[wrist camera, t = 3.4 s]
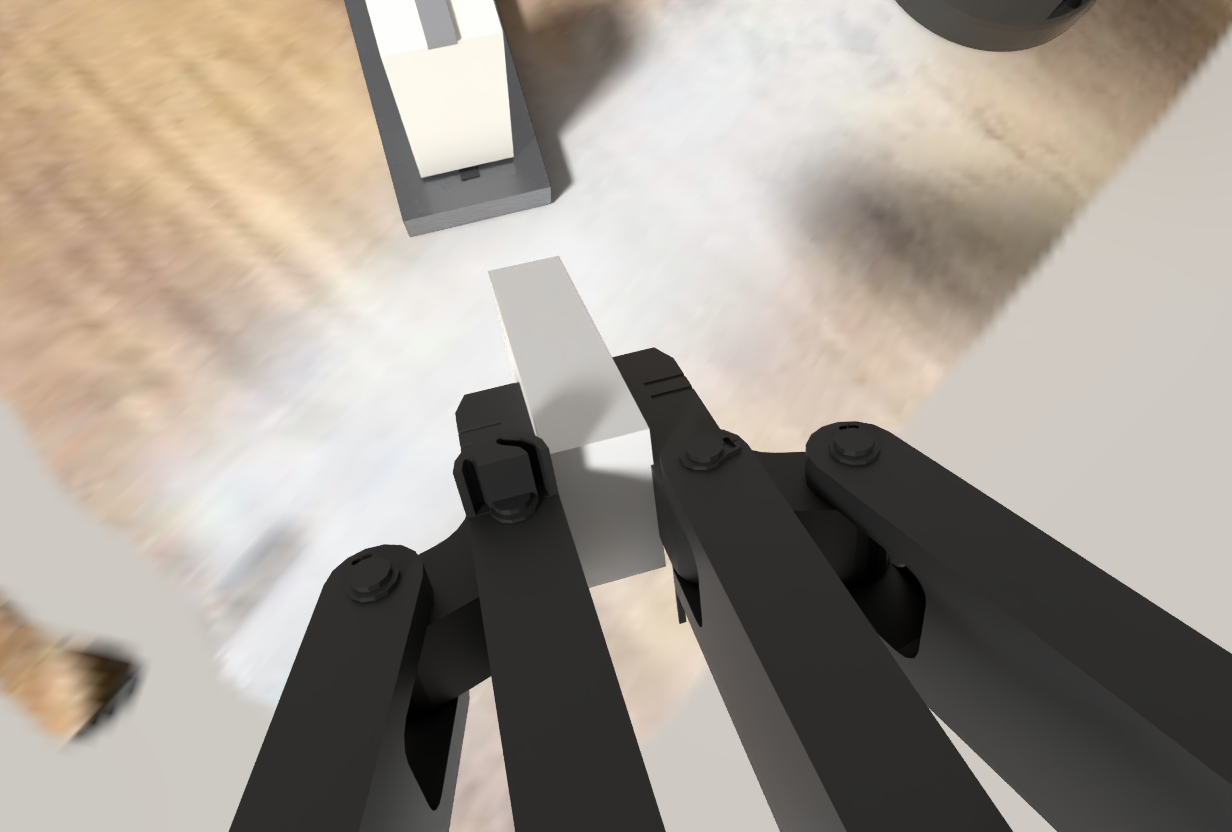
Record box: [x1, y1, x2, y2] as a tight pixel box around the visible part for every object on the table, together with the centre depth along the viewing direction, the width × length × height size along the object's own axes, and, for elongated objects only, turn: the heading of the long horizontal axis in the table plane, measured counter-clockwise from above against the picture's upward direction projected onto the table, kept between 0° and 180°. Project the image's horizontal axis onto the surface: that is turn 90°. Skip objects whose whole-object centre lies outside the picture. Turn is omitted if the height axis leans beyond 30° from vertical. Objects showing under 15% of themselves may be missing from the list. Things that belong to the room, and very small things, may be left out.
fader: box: [365, 0, 514, 178], centre depth 36 cm, size 4×5×10 cm
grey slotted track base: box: [344, 0, 551, 237], centre depth 44 cm, size 22×8×2 cm, turn 17°
